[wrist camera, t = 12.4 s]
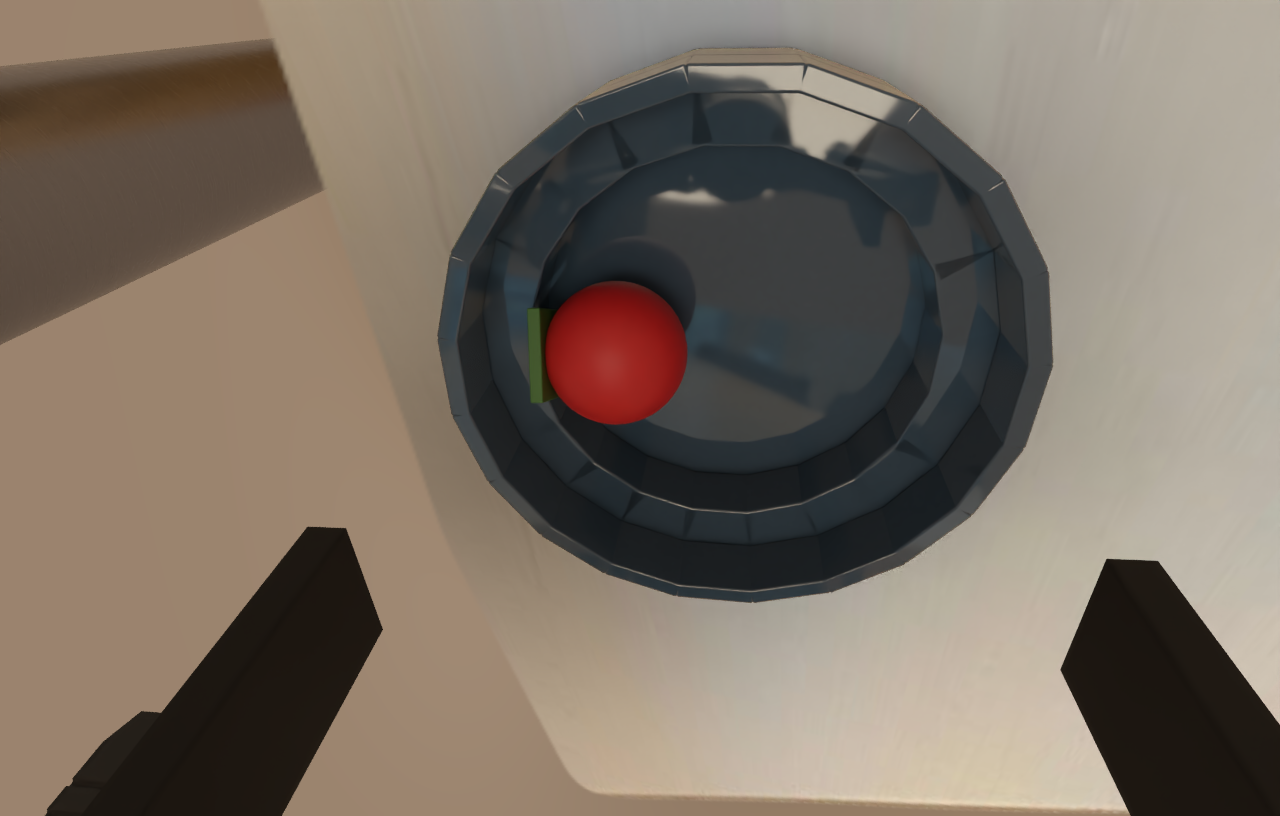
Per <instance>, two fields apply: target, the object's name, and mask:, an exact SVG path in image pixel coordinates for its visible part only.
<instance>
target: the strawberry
mask: <svg viewBox="0 0 1280 816" xmlns="http://www.w3.org/2000/svg"><path fill="white" fill-rule="evenodd" d="M527 324H528V350H529V377H530V402H531V403H544V402H547V401H550V400H553V399H555V398H558V397H560V398H561V399H562V401H563V402H564V403H565V404H566V405H567V406H568V407H570V408H571V409H572V410H573V411H575V412H576V413H578V414H579V415H581V416H583V417H585V418H587V419H590V420H593V421H595V422H599V423H604V424H614V425H618V424H628V423H633V422H636V421H639V420H642V419H645V418H647V417H649V416H651V415H653V414H654V413H656V412H657V411H658V410H660V409H661V408H662V407H663V406H664V405H666V404H667V403H668V401H669V400H670V399H671V398H672V397H673V395H674V394H675V392H676V391H677V389H678V388H679V386H680V384H681V381H682V379H683V376H684V373H685V370H686V364H687V342H686V336H685V333H684V330H683V327H682V324H681V322H680V320H679V318H678V316H677V315H676V313H675V312H674V310H673V309H672V308H671V306H670V305H669V304H668V303H667V302H666V301H665V300H664V299H663V298H661V297H660V296H659V295H658V294H656V293H655V292H653V291H652V290H650V289H648V288H646V287H644V286H641V285H638V284H635V283H631V282H625V281H606V282H600V283H596V284H593V285H590V286H588V287H585V288H583V289H582V290H580V291H578V292H576V293H575V294H573V295H572V296H571V297H570V298H568V299H567V300H566V301H565V302H564V303H563V304H562V305H561V307H560V308H559V309H558V310H556V309H547V308H527Z"/></svg>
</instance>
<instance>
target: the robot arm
mask: <svg viewBox="0 0 1280 816" xmlns="http://www.w3.org/2000/svg"><path fill="white" fill-rule="evenodd" d="M382 630H383V629H382V626H381V623H380V620H379V618H378V615H377V612H376V609H375V607H374V604H373V601H372V599H371V596H370V593H369V590H368V588H367V585H366V582H365V580H364V576H363V574H362V571H361V568H360V565H359V563H358V560H357V557H356V554H355V552H354V549H353V546H352V544H351V541H350V538H349V536H348V532H347V530H346V528H326V527H307V528H306V530H305V531H304V532H303V533H302V535H301V536H300V537H299V539H298V540H297V541H296V542H295V543H294V545H293V546H292V547H291V549H290V550H289V551H288V552H287V554H286V555H285V556H284V558H283V559H282V560H281V561H280V563H279V564H278V565H277V566H276V568H275V569H274V570H273V571H272V573H271V574H270V576H269V577H268V578H267V579H266V580H265V582H264V583H263V584H262V585H261V587H260V588H259V589H258V591H257V592H256V593H255V594H254V596H253V597H252V598H251V599H250V601H249V602H248V603H247V605H246V606H245V607H244V608H243V610H242V611H241V612H240V613H239V615H238V616H237V617H236V619H235V620H234V621H233V622H232V624H231V625H230V626H229V628H228V629H227V630H226V631H225V633H224V634H223V635H222V636H221V638H220V639H219V640H218V641H217V643H216V644H215V645H214V647H213V648H212V649H211V650H210V652H209V653H208V654H207V656H206V657H205V658H204V659H203V661H202V662H201V663H200V664H199V666H198V667H197V668H196V669H195V671H194V672H193V673H192V674H191V676H190V677H189V678H188V680H187V681H186V682H185V683H184V685H183V686H182V687H181V688H180V690H179V691H178V692H177V694H176V695H175V696H174V697H173V699H172V700H171V701H170V702H169V704H168V705H167V706H166V708H165V709H164V710H163V711H162V713H157V712H144V711H141V712H140V713H139V714H137V715H136V716H135V717H134V718H132V719H131V720H130V721H129V722H127V723H126V724H125V725H124V726H122V727H121V728H120V729H119V730H117V731H116V732H115V733H114V734H112V735H111V736H110V737H109V738H107V739H106V740H105V741H104V742H103V743H102V744H101V745H100V746H99V747H98V749H97V750H96V751H95V752H94V753H93V755H92V756H91V757H90V758H89V759H88V761H87V762H86V763H85V764H84V765H83V767H82V768H81V769H80V770H79V771H78V773H77V774H76V775H75V776H74V777H73V782H72V784H71V785H70V786H66V787H65V788H64V789H63V791H62V792H61V793H60V794H59V795H58V797H57V798H56V799H55V800H54V801H53V803H52V804H51V805H50V806H49V807H48V809H47V814H46V815H45V816H282V814H283V812H284V811H285V809H286V807H287V805H288V803H289V801H290V800H291V798H292V795H293V794H294V792H295V790H296V789H297V787H298V785H299V783H300V781H301V779H302V777H303V776H304V774H305V772H306V770H307V768H308V766H309V764H310V763H311V761H312V759H313V757H314V755H315V754H316V752H317V750H318V748H319V746H320V744H321V742H322V740H323V739H324V737H325V735H326V733H327V731H328V730H329V727H330V726H331V724H332V722H333V720H334V719H335V716H336V715H337V713H338V711H339V709H340V707H341V706H342V704H343V702H344V700H345V698H346V696H347V695H348V693H349V690H350V689H351V687H352V685H353V684H354V682H355V680H356V678H357V676H358V674H359V672H360V671H361V669H362V667H363V665H364V663H365V661H366V659H367V658H368V656H369V654H370V652H371V650H372V648H373V647H374V645H375V643H376V641H377V639H378V637H379V636H380V634H381V632H382ZM1061 672H1062V674H1063V676H1064V678H1065V680H1066V682H1067V685H1068V687H1069V689H1070V691H1071V693H1072V695H1073V697H1074V699H1075V701H1076V703H1077V705H1078V707H1079V709H1080V711H1081V714H1082V716H1083V718H1084V720H1085V722H1086V724H1087V726H1088V728H1089V730H1090V732H1091V734H1092V736H1093V738H1094V741H1095V743H1096V745H1097V747H1098V749H1099V751H1100V753H1101V755H1102V757H1103V759H1104V761H1105V763H1106V765H1107V767H1108V770H1109V772H1110V774H1111V776H1112V778H1113V780H1114V782H1115V784H1116V786H1117V788H1118V790H1119V792H1120V794H1121V797H1122V799H1123V801H1124V803H1125V805H1126V807H1127V809H1128V811H1129V813H1130V815H1131V816H1280V724H1279V723H1278V722H1277V720H1276V719H1275V718H1274V716H1273V715H1272V714H1271V712H1270V711H1269V710H1268V708H1267V707H1266V706H1265V704H1264V703H1263V702H1262V700H1261V699H1260V698H1259V696H1258V695H1257V694H1256V692H1255V691H1254V690H1253V688H1252V687H1251V685H1250V684H1249V683H1248V681H1247V680H1246V679H1245V677H1244V676H1243V675H1242V673H1241V672H1240V671H1239V669H1238V668H1237V667H1236V665H1235V664H1234V663H1233V661H1232V660H1231V659H1230V657H1229V656H1228V655H1227V653H1226V652H1225V651H1224V649H1223V648H1222V646H1221V645H1220V644H1219V642H1218V641H1217V640H1216V638H1215V637H1214V636H1213V634H1212V633H1211V632H1210V630H1209V629H1208V628H1207V626H1206V625H1205V624H1204V622H1203V621H1202V620H1201V618H1200V617H1199V616H1198V614H1197V613H1196V612H1195V610H1194V609H1193V607H1192V606H1191V605H1190V603H1189V602H1188V601H1187V599H1186V598H1185V597H1184V595H1183V594H1182V593H1181V591H1180V590H1179V589H1178V587H1177V586H1176V585H1175V583H1174V582H1173V581H1172V579H1171V578H1170V577H1169V575H1168V574H1167V573H1166V571H1165V570H1164V568H1163V567H1162V566H1161V564H1160V563H1159V562H1158V561H1145V560H1121V559H1106V561H1105V564H1104V566H1103V569H1102V571H1101V574H1100V576H1099V578H1098V581H1097V583H1096V586H1095V588H1094V590H1093V593H1092V595H1091V598H1090V600H1089V602H1088V605H1087V607H1086V610H1085V612H1084V614H1083V617H1082V619H1081V622H1080V624H1079V626H1078V629H1077V631H1076V634H1075V636H1074V638H1073V641H1072V643H1071V646H1070V648H1069V650H1068V653H1067V655H1066V658H1065V660H1064V662H1063V665H1062V667H1061Z"/></svg>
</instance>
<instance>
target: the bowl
mask: <svg viewBox="0 0 1280 816" xmlns="http://www.w3.org/2000/svg"><path fill="white" fill-rule="evenodd" d="M606 281H625V282H631V283H635V284H638V285H641V286H644V287H646V288H648V289H650V290H652V291H653V292H655V293H656V294H658V295H659V296H660V297H661V298H663V299H664V300H665V301H666V302H667V303H668V304H669V305H670V306H671V308H672V309H673V310H674V312H675V313H676V315H677V316H678V318H679V320H680V322H681V324H682V327H683V330H684V333H685V336H686V342H687V364H686V370H685V373H684V376H683V379H682V381H681V384H680V386H679V388H678V389H677V391H676V392H675V394H674V395H673V397H672V398H671V399H670V400H669V401H668V403H667V404H666V405H664V406H663V407H662V408H661V409H660V410H658V411H657V412H656V413H654V414H653V415H651V416H649V417H647V418H645V419H642V420H639V421H636V422H633V423H628V424H618V425H614V424H604V423H599V422H595V421H593V420H590V419H587V418H585V417H583V416H581V415H579V414H578V413H576V412H575V411H573V410H572V409H571V408H570V407H568V406H567V405H566V404H565V403H564V402H563V401H562V399H561V398H560V397H558V398H555V399H553V400H550V401H547V402H544V403H531V402H530V377H529V350H528V324H527V308H547V309H556V310H558V309H559V308H560V307H561V305H562V304H563V303H564V302H565V301H566V300H567V299H568V298H570V297H571V296H572V295H573V294H575V293H576V292H578V291H580V290H582V289H583V288H585V287H588V286H590V285H593V284H596V283H600V282H606ZM437 336H438V345H439V350H440V356H441V361H442V366H443V371H444V377H445V382H446V387H447V392H448V398H449V403H450V408H451V413H452V415H453V419H454V420H455V422H456V424H457V426H458V428H459V430H460V431H461V433H462V435H463V437H464V439H465V441H466V442H467V444H468V446H469V448H470V450H471V452H472V453H473V455H474V457H475V459H476V461H477V462H478V464H479V466H480V468H481V470H482V472H483V473H484V475H485V477H486V479H487V481H489V483H490V485H491V486H492V487H493V488H494V489H495V490H496V491H497V492H498V493H499V494H500V495H501V496H502V497H503V498H504V499H505V500H506V501H507V502H508V503H509V504H510V505H511V506H512V507H513V508H514V509H515V510H516V511H517V512H518V513H519V514H520V515H521V516H522V517H523V518H524V519H525V520H526V521H527V522H528V523H529V524H530V525H531V526H532V527H533V528H534V529H535V530H536V531H537V532H538V533H539V534H542V536H543V537H544V538H546V539H548V540H549V541H551V542H553V543H554V544H556V545H558V546H559V547H561V548H563V549H564V550H566V551H568V552H569V553H571V554H573V555H574V556H576V557H578V558H579V559H581V560H583V561H584V562H586V563H588V564H589V565H591V566H593V567H594V568H596V569H598V570H599V571H601V572H603V573H606V574H607V575H610V576H613V577H617V578H620V579H623V580H626V581H629V582H632V583H635V584H639V585H642V586H645V587H648V588H651V589H654V590H657V591H661V592H664V593H667V594H670V595H673V596H676V595H677V596H678V597H688V598H700V599H712V600H723V601H735V602H746V603H752V602H754V603H757V602H764V601H772V600H779V599H786V598H794V597H801V596H808V595H816V594H823V593H829V592H834V591H836V590H839V589H842V588H844V587H847V586H849V585H852V584H855V583H857V582H860V581H862V580H865V579H868V578H870V577H873V576H875V575H878V574H881V573H883V572H886V571H888V570H891V569H894V568H896V567H899V566H901V565H904V564H905V563H907V562H908V561H910V560H911V559H913V558H914V557H915V556H917V555H918V554H920V553H921V552H922V551H924V550H925V549H927V548H928V547H929V546H931V545H932V544H933V543H935V542H936V541H938V540H939V539H940V538H942V537H943V536H945V535H946V534H947V533H949V532H950V531H952V530H953V529H954V528H956V527H957V526H959V525H960V524H961V523H963V522H964V521H966V520H967V519H968V518H970V517H971V515H973V514H974V513H975V512H976V510H977V509H978V508H979V507H980V505H981V504H982V503H983V501H984V500H985V499H986V498H987V496H988V495H989V494H990V492H991V491H992V490H993V489H994V487H995V486H996V485H997V483H998V482H999V481H1000V480H1001V478H1002V477H1003V476H1004V474H1005V473H1006V472H1007V471H1008V469H1009V468H1010V467H1011V465H1012V464H1013V463H1014V462H1015V460H1016V459H1017V458H1018V456H1019V455H1020V454H1021V453H1022V451H1023V449H1024V448H1025V447H1026V444H1027V441H1028V438H1029V435H1030V432H1031V429H1032V426H1033V423H1034V420H1035V417H1036V414H1037V411H1038V408H1039V406H1040V403H1041V400H1042V397H1043V394H1044V391H1045V388H1046V385H1047V382H1048V379H1049V376H1050V373H1051V370H1052V367H1053V346H1052V326H1051V305H1050V285H1049V272H1048V267H1047V265H1046V263H1045V261H1044V259H1043V257H1042V255H1041V252H1040V250H1039V248H1038V246H1037V244H1036V242H1035V240H1034V238H1033V236H1032V234H1031V232H1030V230H1029V228H1028V226H1027V223H1026V221H1025V219H1024V217H1023V215H1022V213H1021V211H1020V209H1019V207H1018V205H1017V203H1016V201H1015V199H1014V197H1013V195H1012V192H1011V190H1010V188H1009V186H1008V184H1007V182H1006V180H1005V179H1003V177H1002V175H1001V174H1000V173H999V172H997V171H996V170H995V169H994V168H993V167H992V166H991V165H990V164H988V163H987V162H986V161H985V160H984V159H983V158H982V157H980V156H979V155H978V154H977V153H976V152H975V151H974V150H973V149H971V148H970V147H969V146H968V145H967V144H966V143H965V142H963V141H962V140H961V139H960V138H959V137H958V136H957V135H956V134H954V133H953V132H952V131H951V130H950V129H949V128H948V127H946V126H945V125H944V124H943V123H942V122H941V121H940V120H939V119H937V118H936V117H935V116H934V115H933V114H932V113H931V112H929V111H928V110H927V109H926V108H925V107H924V106H923V105H921V104H920V103H918V102H917V101H915V100H913V99H912V98H910V97H909V96H907V95H906V94H904V93H903V92H901V91H900V90H898V89H896V88H895V87H893V86H892V85H890V84H889V83H887V82H885V81H884V80H882V79H879V78H877V77H874V76H871V75H868V74H866V73H863V72H860V71H857V70H854V69H852V68H849V67H846V66H843V65H841V64H838V63H835V62H832V61H830V60H827V59H824V58H821V57H819V56H816V55H813V54H810V53H808V52H805V51H802V50H799V49H793V48H699V49H694V50H691V51H689V52H686V53H683V54H681V55H678V56H675V57H673V58H670V59H667V60H664V61H662V62H659V63H656V64H654V65H651V66H648V67H646V68H643V69H640V70H638V71H635V72H632V73H630V74H627V75H624V76H621V77H619V78H616V79H613V80H611V81H609V82H608V83H606V84H604V85H603V86H601V87H600V88H598V89H597V90H596V91H594V92H593V93H591V94H590V95H588V96H587V97H585V98H584V99H582V100H581V101H579V102H578V103H576V104H575V105H574V106H572V107H571V108H570V109H569V110H568V111H566V112H565V113H564V114H563V115H562V116H561V117H559V118H558V119H557V120H556V121H555V122H553V123H552V124H551V125H550V126H549V127H548V128H546V129H545V130H544V131H543V132H542V133H540V134H539V135H538V136H537V137H536V138H535V139H533V140H532V141H531V142H530V143H529V144H527V145H526V146H525V147H524V148H523V149H522V150H520V151H519V152H518V153H517V154H516V155H514V156H513V157H512V158H511V159H510V160H509V161H507V162H506V163H505V164H504V165H503V166H501V167H500V168H499V169H498V171H497V172H496V173H495V174H494V176H493V177H492V179H491V181H490V183H489V185H488V186H487V188H486V190H485V192H484V194H483V195H482V197H481V199H480V201H479V202H478V204H477V206H476V208H475V210H474V211H473V213H472V215H471V217H470V219H469V220H468V222H467V224H466V226H465V227H464V229H463V231H462V233H461V235H460V236H459V238H458V240H457V242H456V244H455V245H454V247H453V249H452V251H451V255H450V257H449V264H448V270H447V276H446V283H445V289H444V296H443V302H442V309H441V315H440V322H439V328H438V335H437Z"/></svg>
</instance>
